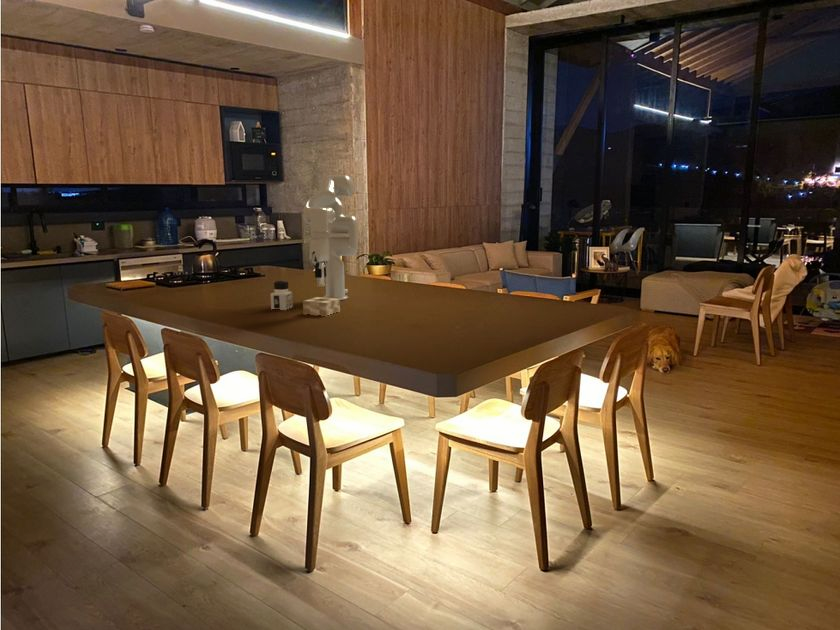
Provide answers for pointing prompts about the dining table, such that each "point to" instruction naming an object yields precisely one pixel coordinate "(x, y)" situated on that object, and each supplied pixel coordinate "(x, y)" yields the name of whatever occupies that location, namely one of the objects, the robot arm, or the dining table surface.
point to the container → (281, 296)
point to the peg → (321, 280)
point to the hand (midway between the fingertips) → (320, 276)
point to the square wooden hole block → (321, 306)
